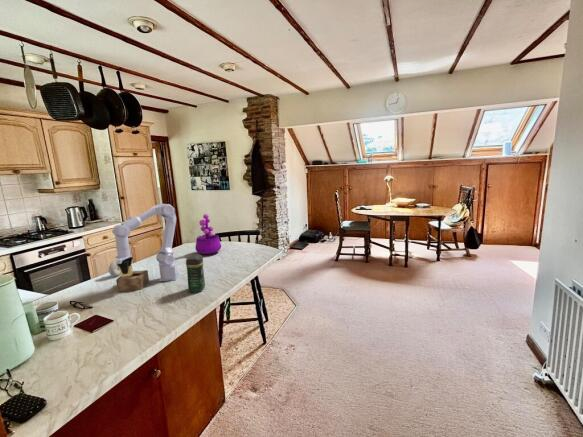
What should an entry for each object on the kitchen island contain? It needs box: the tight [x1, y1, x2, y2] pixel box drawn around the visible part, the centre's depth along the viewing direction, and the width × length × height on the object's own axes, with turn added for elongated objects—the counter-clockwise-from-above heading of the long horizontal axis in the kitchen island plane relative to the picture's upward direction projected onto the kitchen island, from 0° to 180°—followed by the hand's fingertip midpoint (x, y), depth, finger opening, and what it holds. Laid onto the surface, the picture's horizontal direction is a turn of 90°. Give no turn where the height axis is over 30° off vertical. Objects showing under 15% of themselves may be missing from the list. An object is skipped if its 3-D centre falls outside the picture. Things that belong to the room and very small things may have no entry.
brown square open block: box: [115, 269, 150, 292], centre depth 160 cm, size 12×12×6 cm
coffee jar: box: [185, 253, 206, 294], centre depth 152 cm, size 10×8×19 cm
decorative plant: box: [195, 213, 222, 255], centre depth 217 cm, size 19×18×30 cm
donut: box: [108, 259, 120, 277], centre depth 176 cm, size 10×4×10 cm, turn 166°
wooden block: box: [119, 264, 134, 277], centre depth 152 cm, size 5×3×5 cm, turn 99°
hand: (126, 272), depth 152 cm, fingers closed on wooden block, 3 cm apart
